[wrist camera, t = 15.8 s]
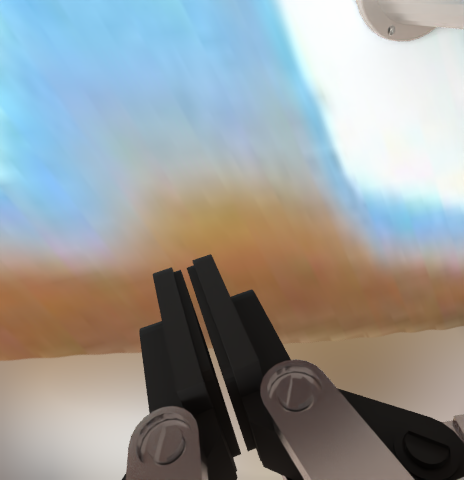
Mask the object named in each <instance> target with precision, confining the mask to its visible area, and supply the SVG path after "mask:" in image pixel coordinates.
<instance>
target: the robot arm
mask: <svg viewBox="0 0 464 480" xmlns="http://www.w3.org/2000/svg"><path fill="white" fill-rule="evenodd" d="M356 3H357V6H358V9H359V12H360V14H361V16H362V18H363V20H364V22H365V24H366V25H367V26H368V27H369V28H370V29H371V30H372V31H373V32H374V33H376V34H377V35H378V36H380V37H382V38H385V39H388V40H393V41H411V40H414V39H418V38H420V37H422V36H424V35H426V34H428V33H430V32H431V31H432V30H434V29H435V28H436V27H442V28H455V29H464V0H356ZM192 261H193V264H194V266H191V267H188V268H187V270H188V273H189V276H190V279H191V282H192V285H193V288H194V291H195V294H196V297H197V300H198V303H199V306H200V309H201V312H202V315H203V318H204V321H205V324H206V327H207V330H208V334H209V337H210V340H211V343H212V346H213V349H214V351H215V354H216V357H217V360H218V363H219V366H220V369H221V372H222V375H223V378H224V381H225V384H226V387H227V390H228V393H229V396H230V399H231V402H232V405H233V408H234V411H235V414H236V417H237V420H238V423H239V426H240V429H241V432H242V435H243V438H244V441H245V444H246V447H247V450H248V451H250V450H252V449H255V448H256V449H257V452H258V455H259V458H260V460H261V461H262V463H263V466H264V467H265V468H268V469H270V470H272V471H274V472H277V473H279V474H281V475H282V477H283V480H464V415H457V416H454V419H453V421H447V422H440V421H437V420H435V419H433V418H430V417H427V416H424V415H421V414H418V413H415V412H411V411H408V410H405V409H402V408H398V407H395V406H392V405H389V404H386V403H382V402H379V401H376V400H373V399H369V398H366V397H363V396H360V395H357V394H354V393H350V392H347V391H344V390H341V389H337V388H336V387H335V385H334V384H333V383H332V382H331V381H330V379H329V378H328V377H327V376H326V375H325V374H324V372H323V371H321V370H320V369H319V368H318V367H317V366H316V365H314V364H312V363H309V362H307V361H303V360H291V359H290V357H289V356H288V354H287V352H286V350H285V348H284V346H283V344H282V343H281V341H280V339H279V337H278V335H277V333H276V331H275V330H274V328H273V326H272V324H271V322H270V320H269V318H268V317H267V315H266V313H265V311H264V309H263V307H262V305H261V304H260V302H259V300H258V298H257V296H256V294H255V293H254V291H253V290H249V291H246V292H243V293H240V294H237V295H235V296H232V297H230V295H229V293H228V291H227V289H226V286H225V284H224V282H223V280H222V277H221V275H220V273H219V271H218V269H217V266H216V264H215V262H214V260H213V257H212V255H211V254H210V255H207V256H204V257H201V258H198V259H195V260H192ZM153 279H154V283H155V288H156V293H157V298H158V303H159V308H160V313H161V318H162V321H161V322H158V323H155V324H152V325H149V326H146V327H144V328H141V329H140V341H141V349H142V357H143V364H144V373H145V380H146V388H147V396H148V404H149V412H150V414H149V415H147V416H146V417H144V418H143V420H142V421H141V422H140V423H139V424H138V425H137V427H136V428H135V430H134V432H133V434H132V436H131V439H130V443H129V448H128V459H127V471H126V474H125V476H124V477H123V479H122V480H237V475H236V471H237V469H236V466H235V462H234V459H233V457H235V456H237V455H240V454H241V452H240V449H239V446H238V443H237V440H236V437H235V433H234V430H233V427H232V424H231V421H230V418H229V415H228V412H227V408H226V405H225V402H224V399H223V396H222V392H221V389H220V386H219V383H218V380H217V377H216V373H215V370H214V367H213V364H212V361H211V358H210V355H209V351H208V348H207V345H206V342H205V339H204V336H203V333H202V330H201V327H200V324H199V322H198V319H197V316H196V313H195V310H194V307H193V304H192V301H191V298H190V295H189V292H188V289H187V287H186V284H185V281H184V278H183V275H182V272H181V270H179V271H176V272H173V269H172V268H169V269H166V270H163V271H160V272H157V273H154V274H153Z"/></svg>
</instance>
